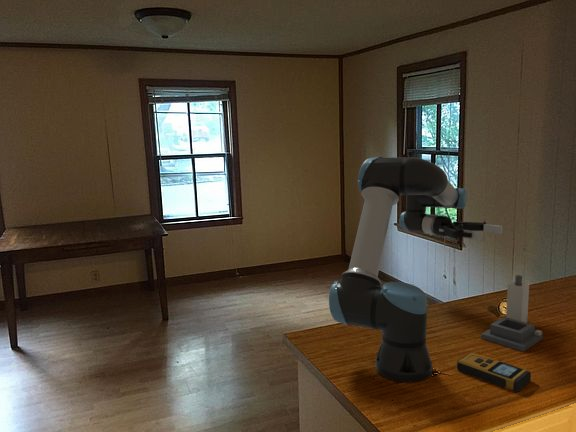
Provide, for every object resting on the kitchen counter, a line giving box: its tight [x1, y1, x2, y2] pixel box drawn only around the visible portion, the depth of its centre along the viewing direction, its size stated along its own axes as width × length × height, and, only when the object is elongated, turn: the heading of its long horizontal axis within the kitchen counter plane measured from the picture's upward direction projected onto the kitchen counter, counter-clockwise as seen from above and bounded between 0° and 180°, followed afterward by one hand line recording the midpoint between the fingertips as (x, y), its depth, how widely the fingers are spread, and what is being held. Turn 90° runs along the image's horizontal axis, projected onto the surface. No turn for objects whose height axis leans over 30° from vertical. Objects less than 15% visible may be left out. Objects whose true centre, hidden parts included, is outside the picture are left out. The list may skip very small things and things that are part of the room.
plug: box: [505, 274, 530, 323], centre depth 161 cm, size 4×5×16 cm
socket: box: [480, 316, 544, 352], centre depth 150 cm, size 13×13×4 cm
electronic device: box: [456, 352, 532, 393], centre depth 128 cm, size 9×16×4 cm, turn 42°
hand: (492, 233), depth 165 cm, fingers open, 13 cm apart
